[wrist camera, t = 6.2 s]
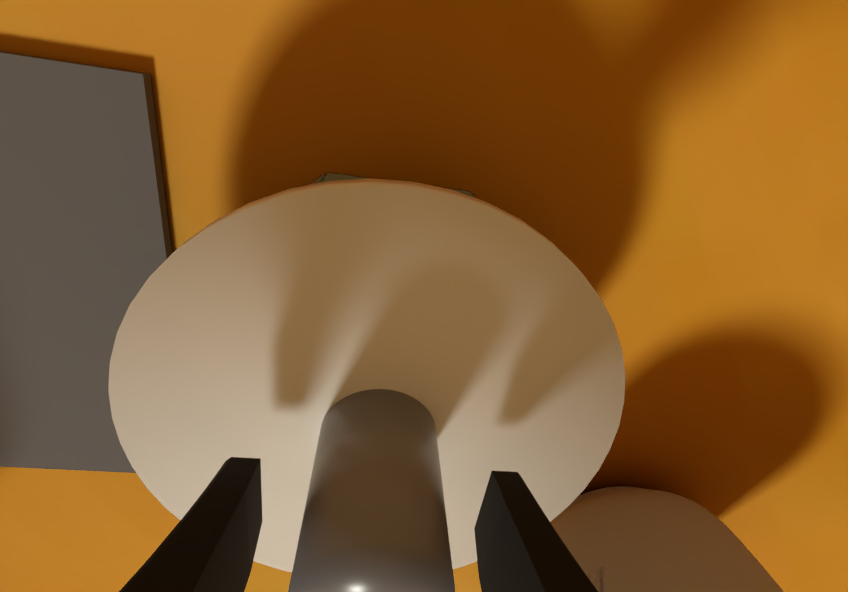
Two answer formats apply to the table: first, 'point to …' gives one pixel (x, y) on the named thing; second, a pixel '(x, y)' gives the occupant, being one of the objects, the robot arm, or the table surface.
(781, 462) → the table surface
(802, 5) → the table surface
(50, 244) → the mat
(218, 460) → the lid
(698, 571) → the teacup
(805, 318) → the table surface
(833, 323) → the table surface
